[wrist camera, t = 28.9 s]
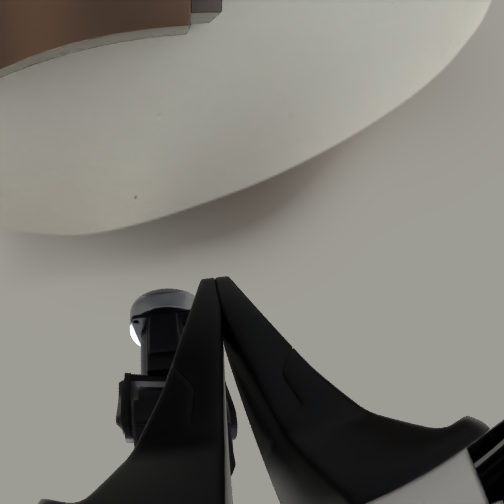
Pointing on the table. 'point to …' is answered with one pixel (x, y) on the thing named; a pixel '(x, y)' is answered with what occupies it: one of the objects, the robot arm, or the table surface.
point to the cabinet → (81, 26)
